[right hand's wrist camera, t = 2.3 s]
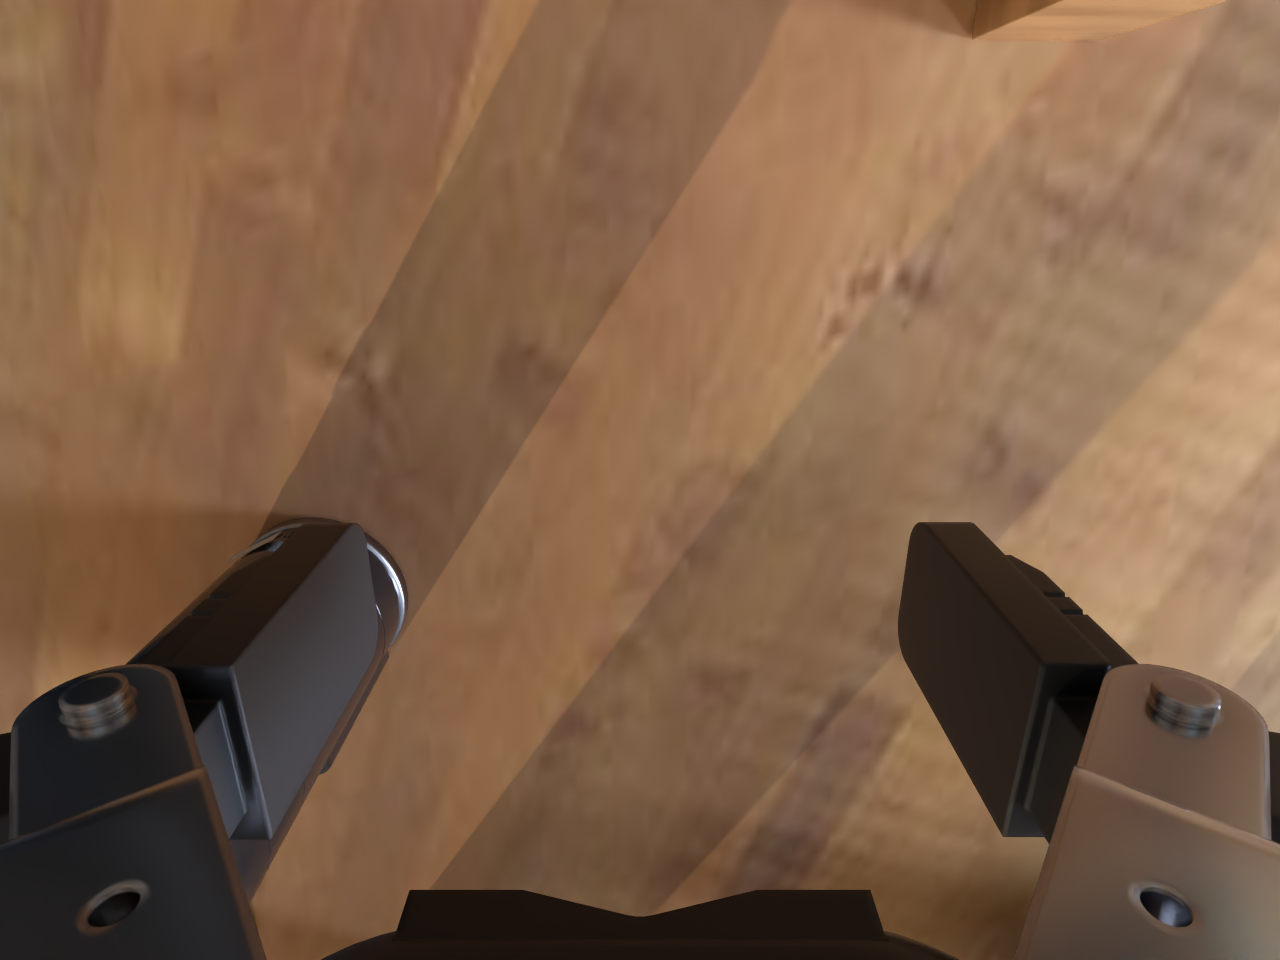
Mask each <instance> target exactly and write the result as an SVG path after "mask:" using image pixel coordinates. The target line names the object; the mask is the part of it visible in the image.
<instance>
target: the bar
mask: <svg viewBox="0 0 1280 960" xmlns="http://www.w3.org/2000/svg"><path fill="white" fill-rule="evenodd" d="M1224 1H1227V0H978V1H977V8H976V15H975V22H974V29H973V36H972V39H973V40H1102V39H1105V38H1109V37H1112V36H1115V35H1118V34H1121V33H1125V32H1128V31H1131V30H1134V29H1137V28H1141V27H1144V26H1147V25H1150V24H1153V23H1157V22H1160V21H1163V20H1166V19H1169V18H1173V17H1176V16H1179V15H1182V14H1185V13H1189V12H1192V11H1195V10H1198V9H1201V8H1205V7H1208V6H1211V5H1214V4H1217V3H1221V2H1224Z"/></svg>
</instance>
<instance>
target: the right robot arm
mask: <svg viewBox="0 0 1280 960" xmlns="http://www.w3.org/2000/svg"><path fill="white" fill-rule="evenodd" d="M240 556H242V557H241V558H240V559H238V560H237V561H236V562H235V563H234V564H233V565H232V566H231V567H230V568H229V569H227V570H226V571H225V572H224V573H223V574H222V575H221V576H220V577H219V578H218V579H216V580H215V581H214V582H213V583H212V584H211V585H210V586H209V587H208V588H207V589H206V590H205V591H204V592H203V593H201V594H200V595H199V596H198V597H197V598H196V599H195V600H194V601H193V602H192V603H191V604H190V605H189V606H188V607H186V608H185V609H184V610H183V611H182V612H181V613H180V614H179V615H178V616H177V617H176V618H175V619H174V620H173V621H171V622H170V623H169V624H168V625H167V626H166V627H165V628H164V629H163V630H162V631H161V632H160V633H159V634H158V635H156V636H155V637H154V638H153V639H152V640H151V641H150V642H149V643H148V644H147V645H146V646H145V647H144V648H143V649H141V650H140V651H139V652H138V653H137V654H136V655H135V656H134V657H133V658H132V659H131V660H130V661H129V662H128V663H126V664H125V665H121V666H115V667H110V668H105V669H102V670H98V671H94V672H91V673H88V674H85V675H82V676H79V677H77V678H74V679H72V680H70V681H67V682H65V683H63V684H61V685H59V686H57V687H55V688H53V689H51V690H50V691H48V692H46V693H45V694H43V695H42V696H40V697H39V698H37V699H36V700H35V701H33V702H32V703H31V704H30V705H28V706H27V707H26V708H25V709H24V710H23V711H22V712H21V713H20V715H19V716H18V717H17V718H16V720H15V722H14V724H13V726H12V731H11V732H10V733H5V734H0V960H267V959H266V956H265V953H264V950H263V947H262V943H261V940H260V937H259V934H258V931H257V927H256V924H255V921H254V918H253V915H252V911H251V908H250V903H251V901H252V899H253V897H254V895H255V893H256V892H257V890H258V888H259V886H260V884H261V882H262V880H263V878H264V876H265V873H266V872H267V870H268V868H269V866H270V864H271V862H272V861H273V859H274V857H275V855H276V853H277V851H278V849H279V848H280V846H281V844H282V842H283V840H284V838H285V837H286V835H287V833H288V831H289V829H290V827H291V826H292V824H293V822H294V820H295V818H296V816H297V814H298V813H299V811H300V809H301V807H302V805H303V803H304V801H305V799H306V797H307V796H308V794H309V792H310V790H311V788H312V786H313V785H314V783H315V781H316V779H317V777H318V776H319V775H320V774H323V773H325V772H326V771H327V770H329V768H330V767H331V765H332V764H333V762H334V760H335V758H336V756H337V754H338V752H339V750H340V748H341V747H342V745H343V743H344V741H345V739H346V737H347V735H348V733H349V732H350V730H351V728H352V726H353V724H354V722H355V720H356V718H357V716H358V715H359V713H360V711H361V709H362V707H363V705H364V703H365V701H366V700H367V698H368V696H369V694H370V692H371V690H372V688H373V686H374V684H375V683H376V681H377V679H378V677H379V675H380V673H381V671H382V669H383V668H384V666H385V664H386V662H387V660H388V658H389V655H388V649H389V647H390V646H391V645H392V643H393V642H394V641H395V639H396V637H397V635H398V633H399V632H400V630H401V628H402V626H403V623H404V621H405V618H406V614H407V609H408V593H407V587H406V583H405V580H404V577H403V575H402V572H401V570H400V569H399V567H398V565H397V563H396V562H395V560H394V559H393V557H392V556H391V555H390V554H389V552H388V551H387V550H386V549H385V548H384V547H383V546H382V545H381V544H379V543H378V542H377V541H376V540H375V539H373V538H372V537H371V536H369V535H368V534H366V533H364V531H363V529H362V528H361V526H360V525H359V524H357V523H342V522H339V521H334V520H330V519H323V518H302V519H295V520H291V521H287V522H284V523H281V524H279V525H277V526H275V527H273V528H271V529H270V530H268V531H266V532H265V533H264V534H263V535H261V536H260V537H259V538H258V539H257V540H256V541H255V542H254V543H253V544H252V545H251V546H250V547H249V548H247V549H245V550H243V551H241V552H239V553H237V554H235V555H234V556H233V557H232V558H231V559H230V560H229V561H228V562H230V561H232V560H234V559H236V558H238V557H240ZM228 562H227V563H228ZM898 635H899V643H900V648H901V652H902V655H903V658H904V660H905V662H906V664H907V665H908V667H909V669H910V671H911V673H912V674H913V676H914V678H915V680H916V682H917V683H918V685H919V687H920V689H921V691H922V692H923V694H924V696H925V698H926V699H927V701H928V703H929V705H930V707H931V708H932V710H933V712H934V714H935V716H936V717H937V719H938V721H939V723H940V725H941V726H942V728H943V730H944V732H945V734H946V735H947V737H948V739H949V741H950V743H951V744H952V746H953V748H954V750H955V752H956V753H957V755H958V757H959V759H960V761H961V762H962V764H963V766H964V768H965V769H966V771H967V773H968V775H969V777H970V778H971V780H972V782H973V784H974V786H975V787H976V789H977V791H978V793H979V795H980V796H981V798H982V800H983V802H984V804H985V805H986V807H987V809H988V811H989V813H990V814H991V816H992V818H993V820H994V822H995V823H996V825H997V827H998V829H999V830H1000V832H1001V834H1002V836H1003V837H1045V838H1046V840H1047V841H1048V843H1049V848H1048V851H1047V854H1046V857H1045V860H1044V864H1043V867H1042V870H1041V873H1040V876H1039V880H1038V883H1037V886H1036V889H1035V892H1034V896H1033V899H1032V902H1031V905H1030V908H1029V911H1028V915H1027V918H1026V921H1025V924H1024V927H1023V931H1022V934H1021V937H1020V940H1019V943H1018V947H1017V950H1016V953H1015V956H1014V959H1013V960H1280V733H1275V732H1270V731H1268V726H1267V724H1266V722H1265V720H1264V718H1263V717H1262V716H1261V715H1260V713H1259V712H1258V711H1257V710H1256V709H1255V708H1254V707H1253V706H1252V705H1250V704H1249V703H1248V702H1247V701H1245V700H1244V699H1243V698H1241V697H1240V696H1238V695H1237V694H1235V693H1234V692H1232V691H1230V690H1229V689H1227V688H1225V687H1223V686H1221V685H1219V684H1217V683H1215V682H1213V681H1210V680H1208V679H1206V678H1203V677H1201V676H1198V675H1195V674H1192V673H1189V672H1186V671H1182V670H1178V669H1175V668H1170V667H1165V666H1159V665H1150V664H1138V663H1137V662H1136V661H1135V660H1134V659H1133V658H1132V657H1131V656H1130V655H1129V654H1128V653H1127V652H1126V651H1125V650H1124V649H1123V648H1122V647H1121V646H1120V645H1118V644H1117V643H1116V642H1115V641H1114V640H1113V639H1112V638H1111V637H1110V636H1109V635H1108V634H1107V633H1106V632H1105V631H1104V630H1103V629H1102V628H1101V627H1100V626H1099V625H1098V624H1097V623H1096V622H1095V621H1093V620H1092V619H1091V618H1090V617H1089V616H1088V615H1083V610H1082V609H1081V608H1080V607H1079V606H1078V605H1077V604H1076V603H1075V602H1074V601H1073V600H1072V599H1071V598H1069V597H1065V593H1064V592H1063V591H1062V590H1061V589H1060V588H1059V587H1058V586H1057V585H1056V584H1055V583H1054V582H1053V581H1052V580H1051V579H1050V578H1049V577H1048V576H1047V575H1046V574H1044V573H1043V572H1041V571H1040V570H1038V569H1036V568H1034V567H1032V566H1030V565H1028V564H1026V563H1025V562H1023V561H1021V560H1019V559H1017V558H1015V557H1013V556H1011V555H1005V554H1004V553H1003V552H1002V551H1001V550H1000V549H999V548H998V547H997V546H996V545H995V544H994V543H993V542H992V541H991V540H990V539H989V538H988V537H987V536H986V535H985V534H984V533H983V532H982V531H981V530H980V529H979V528H978V527H977V526H976V525H975V524H973V523H971V522H919V523H917V524H916V525H915V526H914V528H913V530H912V532H911V536H910V540H909V547H908V554H907V561H906V568H905V575H904V582H903V589H902V596H901V602H900V609H899V617H898ZM321 960H959V959H957V958H955V957H953V956H951V955H948V954H946V953H944V952H942V951H940V950H938V949H935V948H933V947H931V946H929V945H926V944H924V943H921V942H918V941H915V940H912V939H909V938H906V937H904V936H901V935H897V934H893V933H890V932H886V931H883V928H882V925H881V922H880V919H879V915H878V912H877V909H876V906H875V903H874V900H873V897H872V894H871V891H870V890H755V891H751V892H747V893H743V894H739V895H734V896H730V897H726V898H722V899H718V900H714V901H710V902H706V903H701V904H697V905H693V906H689V907H685V908H681V909H677V910H673V911H668V912H664V913H660V914H656V915H651V916H645V917H635V916H629V915H624V914H620V913H616V912H612V911H607V910H603V909H599V908H595V907H591V906H587V905H583V904H579V903H574V902H570V901H566V900H562V899H558V898H554V897H550V896H546V895H541V894H537V893H533V892H529V891H525V890H410V891H409V894H408V897H407V900H406V903H405V906H404V909H403V912H402V915H401V919H400V922H399V925H398V928H397V931H394V932H390V933H387V934H383V935H379V936H376V937H374V938H371V939H368V940H365V941H362V942H359V943H356V944H354V945H351V946H349V947H347V948H345V949H342V950H340V951H338V952H336V953H334V954H332V955H329V956H327V957H325V958H323V959H321Z"/></svg>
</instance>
